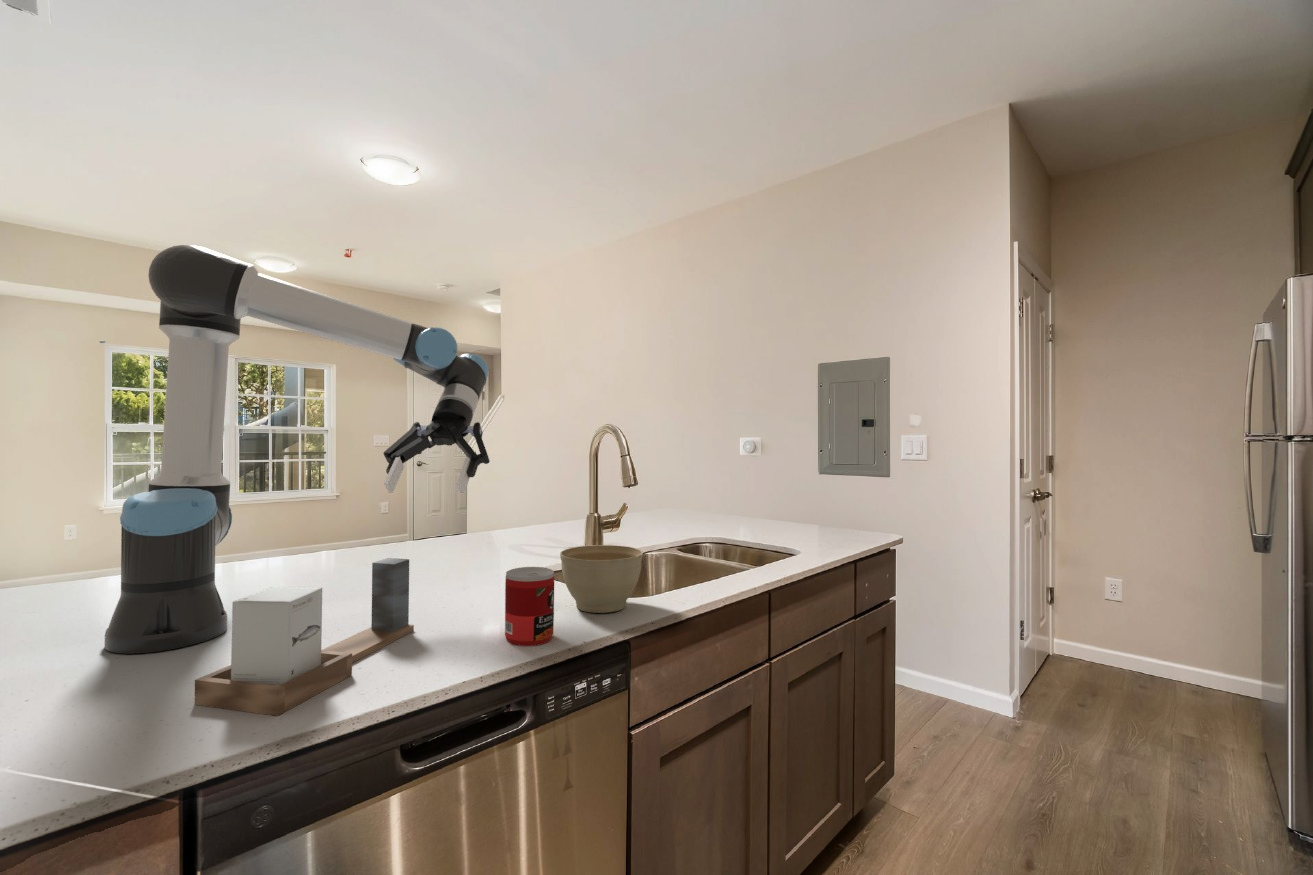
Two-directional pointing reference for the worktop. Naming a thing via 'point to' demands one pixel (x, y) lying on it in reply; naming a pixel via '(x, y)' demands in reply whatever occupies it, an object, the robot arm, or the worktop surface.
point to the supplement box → (276, 634)
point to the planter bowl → (601, 575)
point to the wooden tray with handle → (335, 659)
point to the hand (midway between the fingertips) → (424, 488)
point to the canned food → (529, 606)
